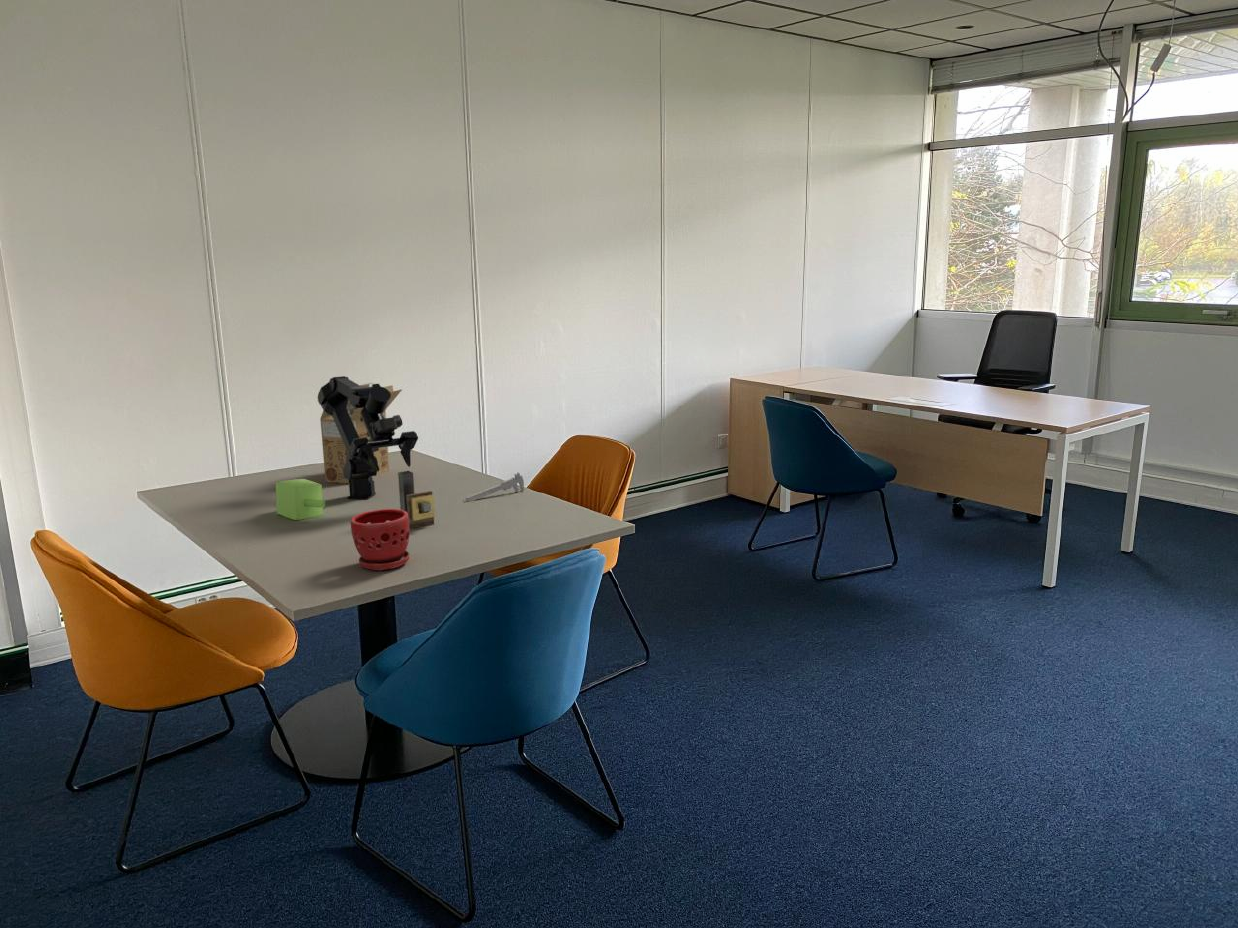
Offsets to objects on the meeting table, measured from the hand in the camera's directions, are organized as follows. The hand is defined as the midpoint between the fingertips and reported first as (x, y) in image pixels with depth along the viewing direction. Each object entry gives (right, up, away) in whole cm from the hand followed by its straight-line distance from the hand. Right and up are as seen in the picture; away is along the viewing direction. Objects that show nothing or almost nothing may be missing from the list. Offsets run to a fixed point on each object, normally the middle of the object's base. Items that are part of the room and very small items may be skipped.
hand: (394, 468), depth 259 cm
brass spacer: (+10, -13, -11) cm, 20 cm away
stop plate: (+9, -15, -8) cm, 19 cm away
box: (-22, -3, +49) cm, 54 cm away
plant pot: (+7, -23, -41) cm, 47 cm away
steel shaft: (+8, -15, -7) cm, 18 cm away
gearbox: (-26, -13, +3) cm, 29 cm away
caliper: (+25, -9, +21) cm, 34 cm away
